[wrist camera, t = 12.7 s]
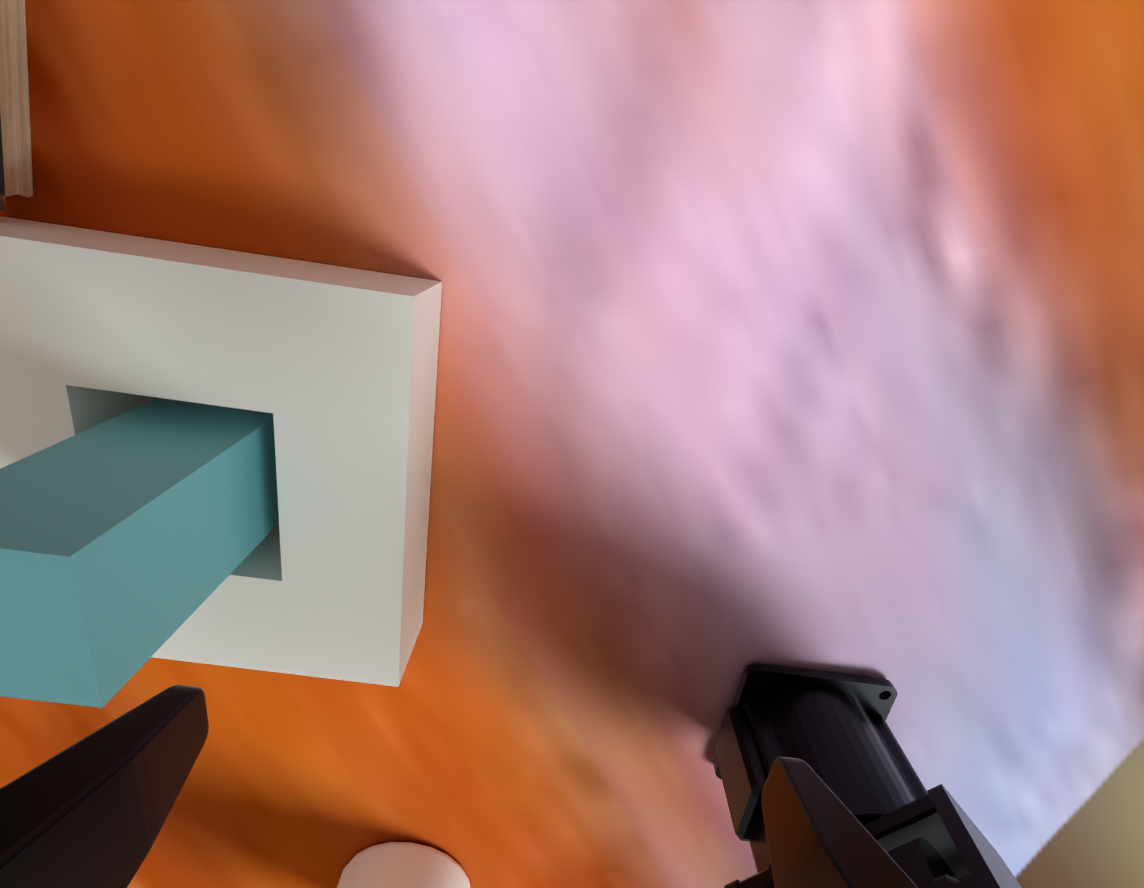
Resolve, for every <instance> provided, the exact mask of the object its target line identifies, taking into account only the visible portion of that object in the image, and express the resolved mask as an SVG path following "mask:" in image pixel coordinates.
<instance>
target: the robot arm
mask: <svg viewBox="0 0 1144 888" xmlns="http://www.w3.org/2000/svg"><path fill="white" fill-rule="evenodd" d="M756 675H760V676H758V677H754V676H756ZM883 691H884V692H883ZM896 696H897V692H896V689H895V688H894V686H893V685H892V683H891V682H890V681H889V680H885V679H879V678H871V677H863V676H855V675H847V674H839V673H831V672H823V671H815V670H807V669H799V668H791V667H783V666H775V665H767V664H759V663H758V664H751V665H749V666H748V667H746V669H745V670H744V673H743V676H742V679H741V682H740V685H739V688H738V691H737V694H736V697H735V700H734V703H733V705H731V706H730V707H729V708H728V709H727V712H726V715H725V718H724V721H723V724H722V727H721V730H720V733H719V737H718V740H717V743H716V746H715V753H716V758H715V761H714V769H715V773H716V775H717V777H718V778H720V779H722V781H723V785H724V790H725V794H726V798H727V802H728V806H729V810H730V814H731V818H732V822H733V826H734V830H735V833H736V835H737V836H738V837H739V839H740V840H741V841H749V842H750V846H751V849H752V853H753V857H754V861H755V865H756V868H757V872H758V874H755V875H753V876H751V877H749V878H747V879H745V880H743V881H739V880H735V881H733V882H731V883H729V884H727V885H725V886H724V888H1021V887H1020V885H1019V884H1018V882H1017V880H1016V879H1015V877H1014V876H1013V875H1012V873H1011V872H1010V870H1009V869H1008V867H1007V866H1006V864H1005V863H1004V861H1003V860H1002V858H1001V857H1000V855H999V854H998V853H997V852H996V850H995V849H994V848H993V847H992V845H991V844H990V843H989V842H988V840H987V839H986V838H985V837H984V836H983V834H982V833H981V832H980V831H979V829H978V828H977V827H976V826H975V824H974V823H973V822H972V821H971V820H970V818H969V817H968V816H967V815H966V813H965V812H964V811H963V810H962V808H961V807H960V806H959V805H958V804H957V802H956V801H955V800H954V799H953V797H952V796H951V795H950V794H949V792H948V791H947V790H946V789H945V788H944V786H943V785H942V784H940V785H938V786H936V787H934V788H932V789H930V790H928V791H926V789H925V788H924V786H923V784H922V783H921V781H920V779H919V777H918V776H917V774H916V772H915V771H914V769H913V767H912V766H911V764H910V762H909V761H908V759H907V757H906V755H905V754H904V752H903V750H902V749H901V747H900V745H899V744H898V742H897V740H896V739H895V737H894V735H893V733H892V732H891V730H890V728H889V727H888V725H887V723H886V722H885V720H886V718H887V716H888V714H889V712H890V709H891V707H892V705H893V703H894V701H895V699H896ZM208 728H209V724H208V716H207V708H206V700H205V694H204V691H203V690H202V689H201V688H199V687H191V686H183V685H175V686H172V687H169V688H167V689H166V690H164V691H162V692H161V693H159V694H157V695H156V696H154V697H152V698H151V699H149V700H147V701H146V702H144V703H142V704H141V705H139V706H137V707H136V708H134V709H132V710H131V711H129V712H127V713H126V714H124V715H122V716H121V717H119V718H117V719H116V720H114V721H112V722H111V723H109V724H107V725H106V726H104V727H102V728H101V729H99V730H97V731H96V732H94V733H92V734H91V735H89V736H87V737H86V738H84V739H82V740H81V741H79V742H77V743H76V744H74V745H72V746H71V747H69V748H67V749H66V750H64V751H62V752H61V753H59V754H57V755H56V756H54V757H52V758H51V759H49V760H47V761H46V762H44V763H42V764H41V765H39V766H37V767H36V768H34V769H32V770H31V771H29V772H27V773H26V774H24V775H22V776H21V777H19V778H17V779H16V780H14V781H12V782H11V783H9V784H7V785H6V786H4V787H2V788H1V789H0V888H127V887H128V885H129V883H130V882H131V880H132V879H133V877H134V875H135V874H136V872H137V871H138V869H139V867H140V866H141V864H142V862H143V861H144V859H145V857H146V856H147V854H148V852H149V851H150V849H151V847H152V845H153V843H154V841H155V840H156V838H157V836H158V834H159V832H160V830H161V828H162V826H163V824H164V822H165V820H166V818H167V816H168V814H169V812H170V810H171V808H172V806H173V805H174V803H175V801H176V799H177V797H178V795H179V793H180V791H181V789H182V787H183V785H184V783H185V781H186V779H187V777H188V775H189V773H190V771H191V769H192V767H193V765H194V763H195V761H196V759H197V757H198V755H199V753H200V751H201V749H202V747H203V745H204V743H205V741H206V738H207V734H208ZM927 792H928V793H927Z"/></svg>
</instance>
